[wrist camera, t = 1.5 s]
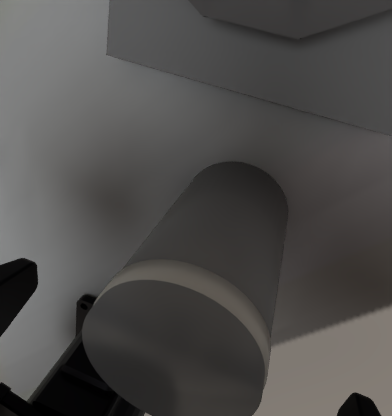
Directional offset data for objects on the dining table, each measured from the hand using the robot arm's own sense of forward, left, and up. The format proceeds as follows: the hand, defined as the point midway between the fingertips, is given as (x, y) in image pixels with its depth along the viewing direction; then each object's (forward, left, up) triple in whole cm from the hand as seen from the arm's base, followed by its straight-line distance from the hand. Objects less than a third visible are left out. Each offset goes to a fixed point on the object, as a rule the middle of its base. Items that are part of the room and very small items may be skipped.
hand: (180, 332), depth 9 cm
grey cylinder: (0, 0, -7) cm, 7 cm away
